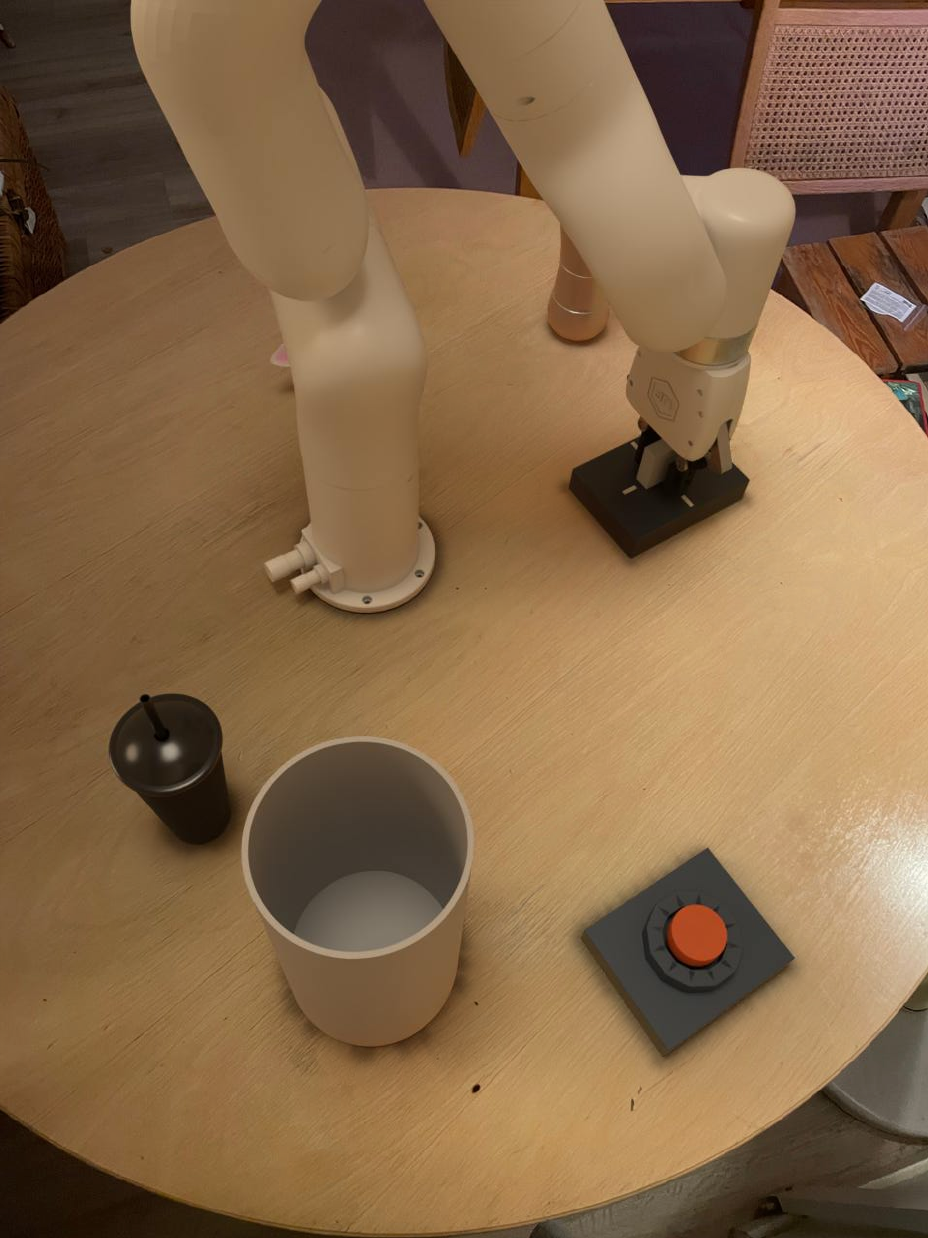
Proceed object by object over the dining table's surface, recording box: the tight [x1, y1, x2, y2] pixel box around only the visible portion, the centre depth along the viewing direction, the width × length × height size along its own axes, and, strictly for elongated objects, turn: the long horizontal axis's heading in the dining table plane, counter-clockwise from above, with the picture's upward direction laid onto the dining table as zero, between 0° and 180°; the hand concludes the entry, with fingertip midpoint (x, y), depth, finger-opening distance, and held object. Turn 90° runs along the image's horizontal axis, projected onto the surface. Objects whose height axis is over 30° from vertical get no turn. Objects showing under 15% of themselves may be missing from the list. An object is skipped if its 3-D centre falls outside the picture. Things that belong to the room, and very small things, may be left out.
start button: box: [667, 905, 727, 967], centre depth 75 cm, size 4×4×2 cm
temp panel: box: [568, 435, 751, 560], centre depth 101 cm, size 14×10×3 cm
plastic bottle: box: [547, 223, 611, 342], centre depth 106 cm, size 6×7×20 cm
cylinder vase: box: [240, 735, 475, 1047], centre depth 67 cm, size 12×12×25 cm
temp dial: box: [636, 439, 677, 489], centre depth 97 cm, size 5×2×5 cm, turn 123°
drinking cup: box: [108, 692, 232, 845], centre depth 74 cm, size 8×8×20 cm
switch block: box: [580, 847, 796, 1057], centre depth 77 cm, size 12×10×4 cm
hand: (662, 471), depth 99 cm, fingers open, 3 cm apart
